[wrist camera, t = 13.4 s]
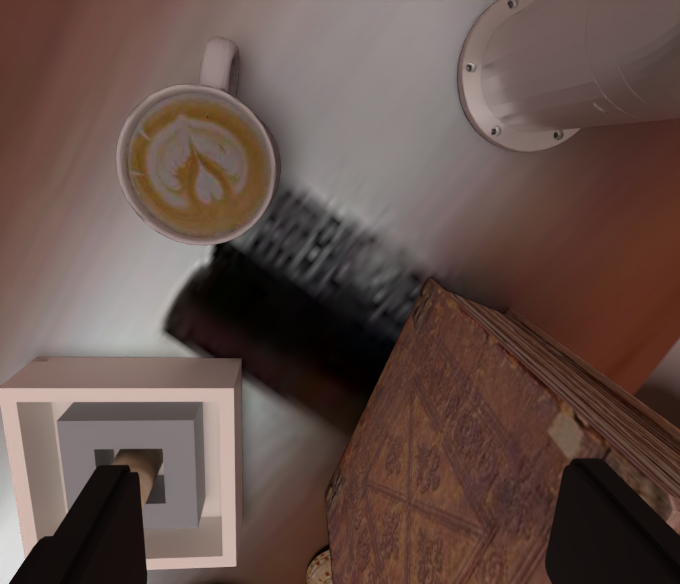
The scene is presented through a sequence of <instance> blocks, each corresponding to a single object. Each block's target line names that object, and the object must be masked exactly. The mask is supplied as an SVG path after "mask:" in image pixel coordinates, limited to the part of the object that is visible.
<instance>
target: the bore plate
mask: <svg viewBox="0 0 680 584" xmlns="http://www.w3.org/2000/svg"><path fill="white" fill-rule="evenodd" d="M57 428H58V436H59V444H60V452H61V460H62V468H63V476H64V484H65V491H66V499H67V507H68V511H69V510H70V508H71V507H72V505H73V503H74V502H75V500H76V499H77V497H78V496H79V494H80V492H81V491H82V489H83V488H84V486H85V485H86V483H87V481H88V480H89V478H90V477H91V475H92V474H93V472H94V470H95V469H96V468H97V467H98V466H99V465H111V464H112V462H113V460H114V449H163V465H164V475H157V477H156V480H155V482H154V485H153V487H152V489H151V492H150V494H149V496H148V499H147V501H146V503H145V506H144V508H143V510H142V516H143V528H144V529H174V528H198V526H199V522H200V518H201V514H202V510H203V506H204V502H205V498H206V490H205V460H204V430H203V402H73V403H72V404H71V406H70V407H69V408H68V409H67V410H66V411H65V412H64V413H63V415H62V416H61V417H60V418H59V419H58V420H57Z"/></svg>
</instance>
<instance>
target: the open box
mask: <svg viewBox="0 0 680 584" xmlns="http://www.w3.org/2000/svg"><path fill="white" fill-rule="evenodd" d="M73 402H203V430H204V460H205V490H206V498H205V502H204V506H203V510H202V514H201V518H200V522H199V526H198V528H174V529H144V541H145V554H146V566H147V570H154V569H181V568H207V567H234V566H236V565H237V557H238V550H239V543H240V536H241V529H242V522H243V466H242V358H119V357H37V358H36V359H34V360H33V361H32V362H30V363H29V364H28V365H27V366H25V367H24V368H23V369H22V370H20V371H19V372H18V373H16V374H15V375H14V376H13V377H11V378H10V379H9V380H8V381H6V382H5V383H4V384H2V385H1V386H0V406H1V412H2V418H3V424H4V431H5V437H6V443H7V449H8V455H9V462H10V468H11V474H12V480H13V486H14V493H15V499H16V505H17V511H18V517H19V524H20V530H21V536H22V542H23V548H24V555H25V559H26V557H27V556H28V554H29V553H30V551H31V550H32V548H33V547H34V546H35V544H36V543H37V542H38V541H39V540H40V539H41V538H43V537H44V536H53V535H54V533H55V532H56V530H57V529H58V527H59V525H60V524H61V522H62V521H63V519H64V518H65V516H66V514H67V513H68V507H67V499H66V491H65V484H64V476H63V468H62V460H61V452H60V444H59V436H58V428H57V420H58V419H59V418H60V417H61V416H62V415H63V413H64V412H65V411H66V410H67V409H68V408H69V407H70V406H71V404H72V403H73ZM119 450H120V449H114V458H115V457H116V455H117V453H118V452H119ZM158 475H164V465H163V463H162V466H161V468H160V470H159V473H158Z"/></svg>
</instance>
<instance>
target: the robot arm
mask: <svg viewBox="0 0 680 584" xmlns="http://www.w3.org/2000/svg"><path fill="white" fill-rule="evenodd" d="M508 3H510V5H511V8H509V7H508ZM467 65H468V66H470V71H469V72H468V71H467V69H466V66H467ZM458 89H459V94H460V99H461V103H462V106H463V108H464V111H465V113H466V116H467V118H468V119H469V121H470V122H471V124H472V125H473V127H474V128H475V129H476V130H477V131H478V132H479V133H480V134H481V135H482V137H483V138H485V139H486V140H488V141H489V142H491V143H492V144H494V145H496V146H498V147H501V148H503V149H506V150H510V151H516V152H535V151H541V150H546V149H549V148H552V147H554V146H557V145H559V144H561V143H563V142H564V141H566V140H568V139H569V138H571V137H572V136H573V135H574V134H576V133H577V132H578V131H579V130H580V129H582V128H587V127H598V126H608V125H618V124H629V123H639V122H649V121H660V120H670V119H678V118H680V0H498V1H496V2H495V3H494V4H493V5H491V6H490V7H489V8H488V9H487V10H486V11H485V12H484V13H483V14H482V15H481V16H480V18H479V19H478V20H477V22H476V23H475V24H474V25H473V27H472V29H471V31H470V33H469V35H468V37H467V39H466V40H465V43H464V46H463V49H462V53H461V56H460V62H459V68H458ZM492 129H494V130H495V133H494V134H493V135H492V133H491V130H492ZM554 133H555V135H556V136H555V137H554ZM545 568H546V572H547V575H548V577H549V579H550V581H551V583H552V584H680V535H679V534H678V533H677V532H676V531H675V530H674V529H673V528H672V527H670V526H669V525H668V524H667V523H666V522H665V521H664V520H663V519H662V518H661V517H660V516H659V515H658V514H657V513H656V512H655V511H654V510H653V509H652V508H651V507H650V506H649V505H648V504H647V503H646V502H645V501H644V500H643V499H642V498H641V497H640V496H639V495H638V494H637V493H636V492H635V491H634V490H633V489H632V488H631V487H630V486H629V485H628V484H627V483H626V482H625V481H624V480H623V479H622V478H621V477H620V476H619V475H618V474H617V473H616V472H615V471H614V470H613V469H612V468H611V467H610V466H609V465H608V464H607V463H606V462H605V461H604V460H602V459H600V458H575V459H573V460H572V461H571V462H570V465H567V466H565V468H564V470H563V474H562V479H561V484H560V489H559V494H558V499H557V503H556V508H555V513H554V518H553V523H552V528H551V533H550V538H549V542H548V547H547V552H546V557H545ZM146 583H147V566H146V554H145V541H144V528H143V516H142V503H141V491H140V478H139V474H138V472H131V470H130V467H129V466H128V465H99V466H98V467H97V468H96V469H95V470H94V472H93V474H92V475H91V477H90V478H89V480H88V481H87V483H86V485H85V486H84V488H83V489H82V491H81V492H80V494H79V496H78V497H77V499H76V500H75V502H74V503H73V505H72V507H71V508H70V510H69V511H68V513H67V514H66V516H65V518H64V519H63V521H62V522H61V524H60V525H59V527H58V529H57V530H56V532H55V533H54V535H53V536H44V537H43V538H41V539H40V540H39V541H38V542H37V543H36V544H35V546H34V547H33V548H32V550H31V551H30V553H29V554H28V556H27V557H26V559H25V560H24V562H23V563H22V565H21V566H20V568H19V569H18V571H17V572H16V574H15V575H14V577H13V578H12V580H11V581H10V583H9V584H146Z"/></svg>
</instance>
